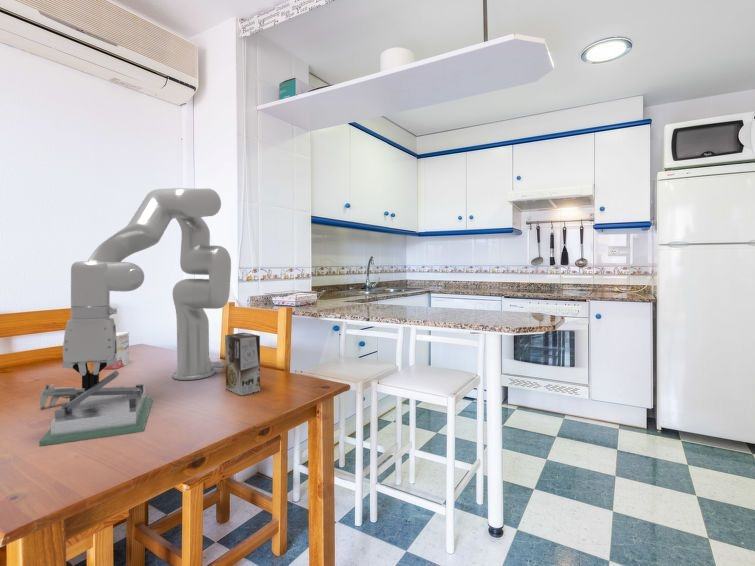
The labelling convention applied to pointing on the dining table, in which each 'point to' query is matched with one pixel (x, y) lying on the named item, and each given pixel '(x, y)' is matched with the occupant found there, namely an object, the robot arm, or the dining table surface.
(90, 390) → the strap
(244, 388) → the coffee box
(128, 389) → the strap
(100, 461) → the dining table surface
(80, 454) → the dining table surface
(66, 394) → the caliper
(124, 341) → the ink cartridge box
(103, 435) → the base
